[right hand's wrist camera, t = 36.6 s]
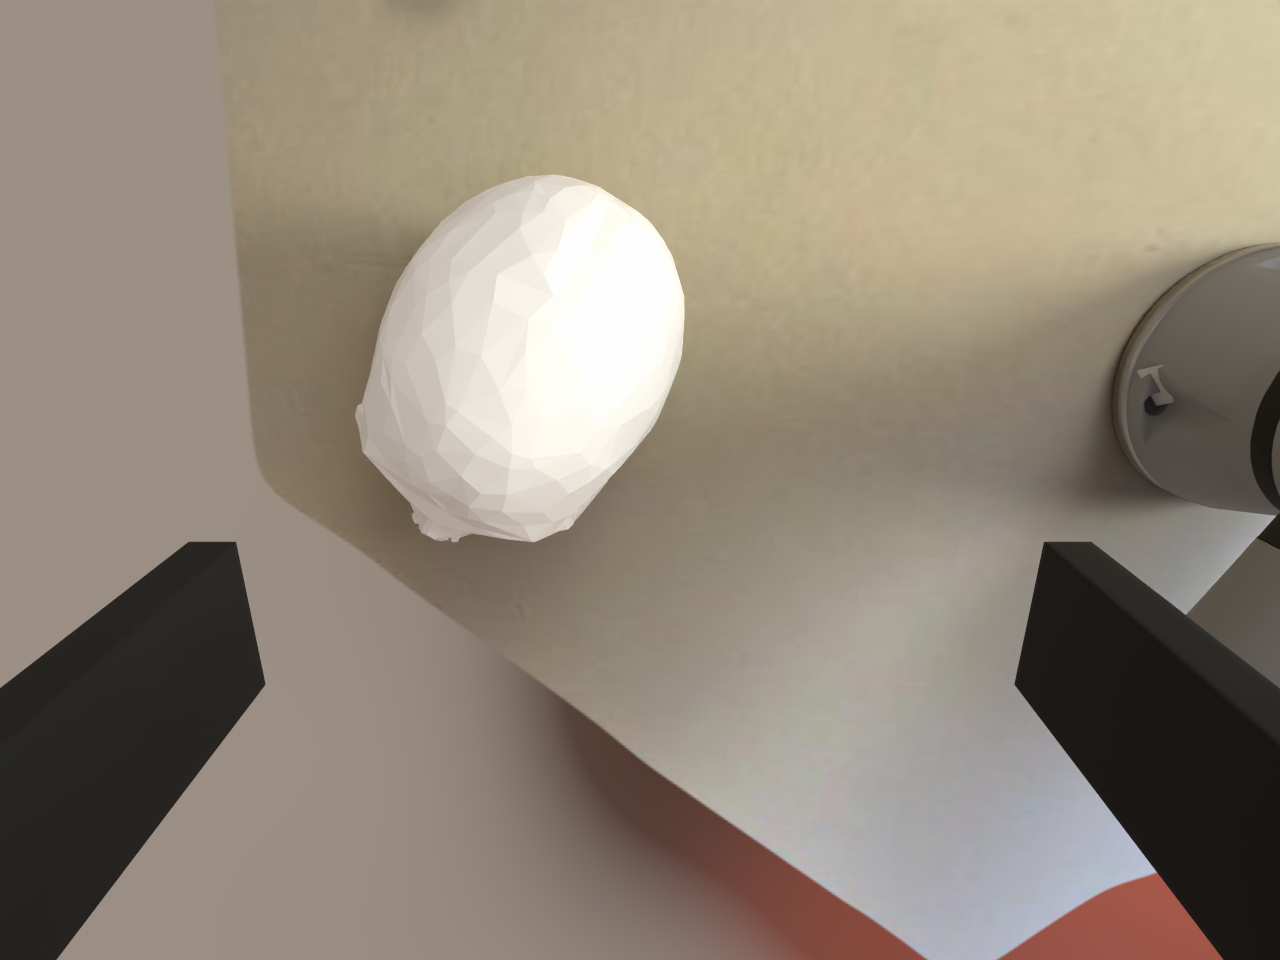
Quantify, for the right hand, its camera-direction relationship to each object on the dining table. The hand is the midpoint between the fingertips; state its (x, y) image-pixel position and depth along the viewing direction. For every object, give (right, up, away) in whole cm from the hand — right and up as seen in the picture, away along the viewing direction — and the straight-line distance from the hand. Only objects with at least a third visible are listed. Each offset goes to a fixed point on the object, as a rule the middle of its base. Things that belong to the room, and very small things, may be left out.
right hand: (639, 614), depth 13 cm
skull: (-7, +9, +32) cm, 34 cm away
